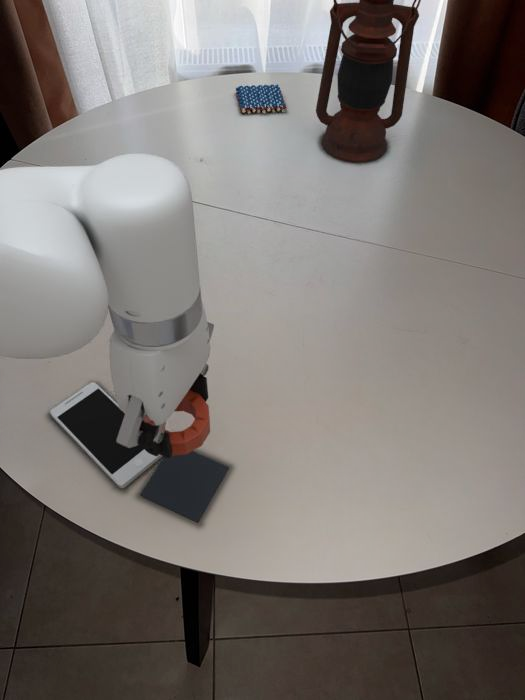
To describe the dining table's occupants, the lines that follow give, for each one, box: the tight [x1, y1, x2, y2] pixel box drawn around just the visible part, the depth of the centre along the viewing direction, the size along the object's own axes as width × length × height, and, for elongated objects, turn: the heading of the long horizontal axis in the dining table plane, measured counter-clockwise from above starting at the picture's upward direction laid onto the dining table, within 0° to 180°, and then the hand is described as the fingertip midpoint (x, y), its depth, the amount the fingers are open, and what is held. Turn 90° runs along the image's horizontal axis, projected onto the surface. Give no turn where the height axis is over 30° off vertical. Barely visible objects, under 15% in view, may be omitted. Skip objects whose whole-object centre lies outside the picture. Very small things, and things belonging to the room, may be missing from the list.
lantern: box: [315, 0, 422, 164], centre depth 111 cm, size 17×14×30 cm
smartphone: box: [49, 381, 164, 489], centre depth 75 cm, size 7×16×1 cm, turn 46°
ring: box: [145, 390, 211, 455], centre depth 61 cm, size 7×7×2 cm
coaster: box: [139, 450, 230, 523], centre depth 71 cm, size 8×8×1 cm
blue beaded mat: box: [235, 83, 287, 115], centre depth 132 cm, size 10×11×2 cm
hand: (176, 421), depth 61 cm, fingers closed on ring, 6 cm apart
